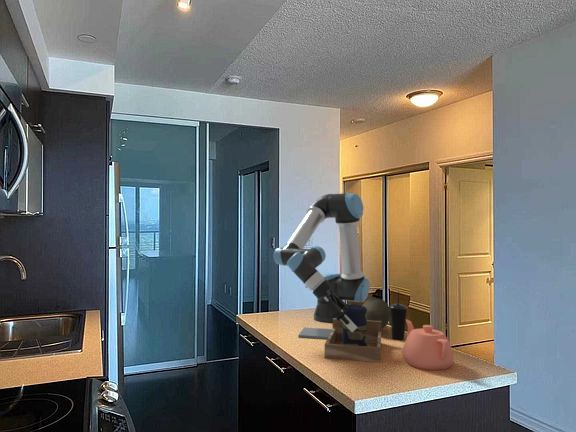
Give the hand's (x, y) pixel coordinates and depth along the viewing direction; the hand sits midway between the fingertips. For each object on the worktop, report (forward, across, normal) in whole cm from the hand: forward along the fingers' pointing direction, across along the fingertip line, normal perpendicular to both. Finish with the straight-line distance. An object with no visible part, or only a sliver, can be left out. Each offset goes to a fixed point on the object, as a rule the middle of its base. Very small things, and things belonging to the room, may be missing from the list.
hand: (356, 325), depth 171 cm
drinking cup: (+18, -23, +5) cm, 29 cm away
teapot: (+25, +8, +11) cm, 28 cm away
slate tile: (-6, -20, -20) cm, 29 cm away
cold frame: (+6, 0, -7) cm, 10 cm away
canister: (+7, 0, -7) cm, 10 cm away
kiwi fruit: (+11, -33, -2) cm, 35 cm away
